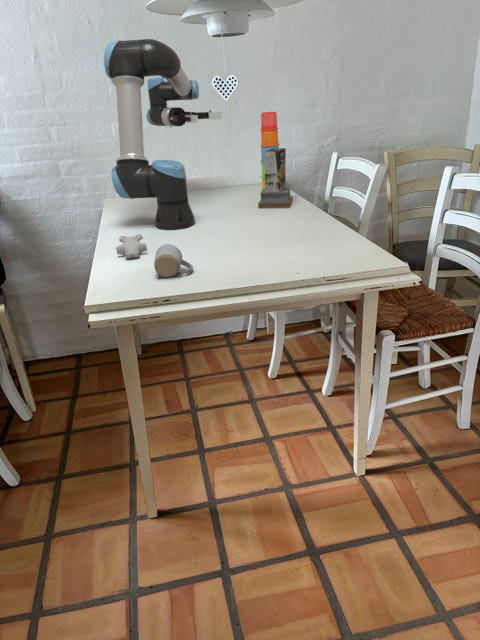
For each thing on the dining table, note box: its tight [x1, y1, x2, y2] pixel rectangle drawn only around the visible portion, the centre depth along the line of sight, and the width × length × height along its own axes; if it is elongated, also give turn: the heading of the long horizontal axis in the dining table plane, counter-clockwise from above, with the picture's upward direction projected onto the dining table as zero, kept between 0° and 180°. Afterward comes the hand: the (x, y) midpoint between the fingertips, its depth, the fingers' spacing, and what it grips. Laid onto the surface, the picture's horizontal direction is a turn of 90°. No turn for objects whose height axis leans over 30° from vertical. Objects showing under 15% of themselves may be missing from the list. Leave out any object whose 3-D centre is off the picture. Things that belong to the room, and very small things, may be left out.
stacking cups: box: [259, 111, 280, 193], centre depth 216 cm, size 10×10×35 cm
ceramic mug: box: [153, 243, 194, 278], centre depth 136 cm, size 11×8×8 cm
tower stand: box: [257, 186, 294, 209], centre depth 201 cm, size 13×13×6 cm
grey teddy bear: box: [115, 233, 148, 259], centre depth 155 cm, size 10×5×15 cm
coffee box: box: [264, 147, 287, 192], centre depth 196 cm, size 9×6×16 cm
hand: (209, 117), depth 195 cm, fingers open, 13 cm apart
